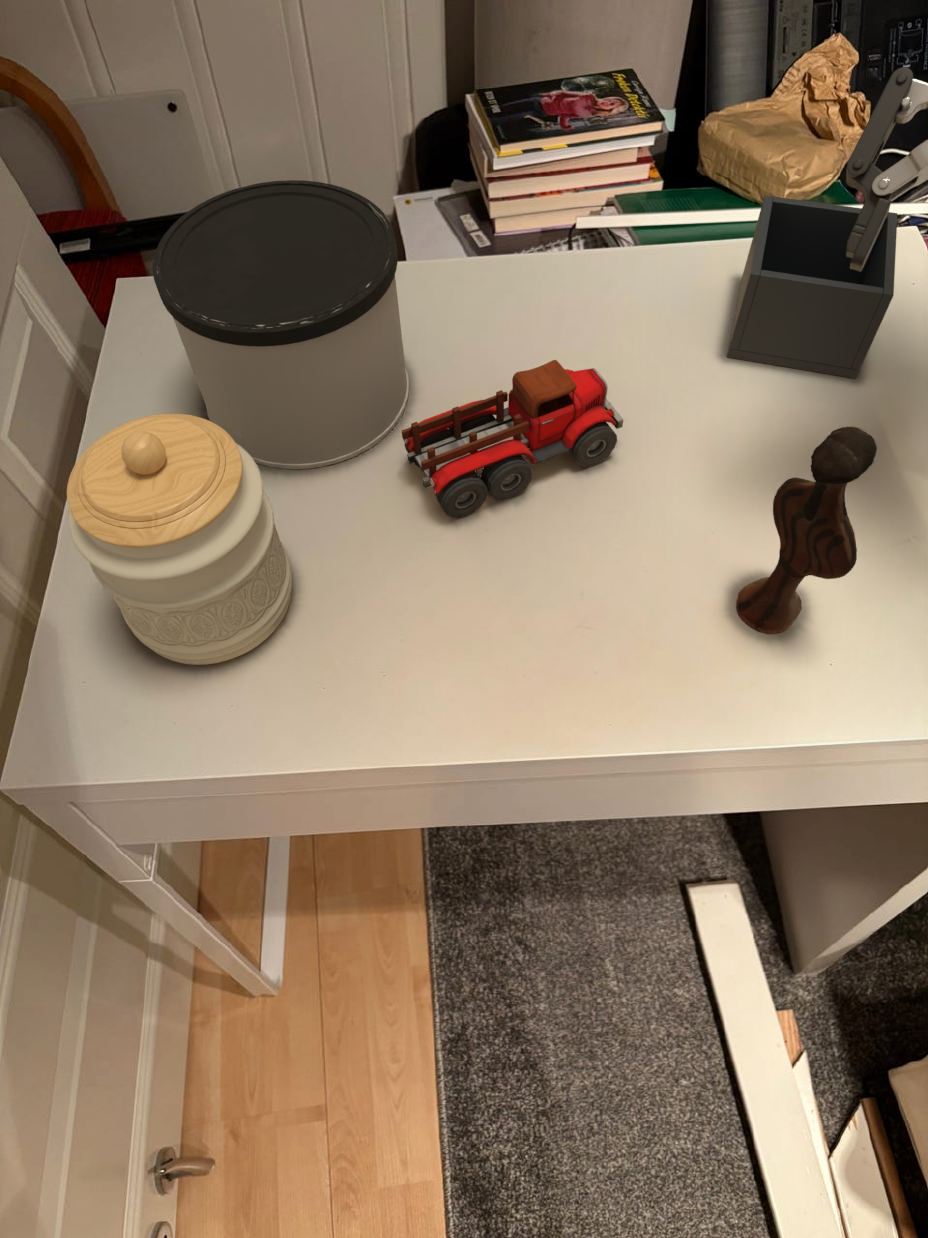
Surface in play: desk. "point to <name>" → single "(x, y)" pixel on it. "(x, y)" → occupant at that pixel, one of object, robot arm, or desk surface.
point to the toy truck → (513, 436)
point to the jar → (181, 537)
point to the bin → (811, 289)
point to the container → (289, 318)
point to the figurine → (810, 530)
